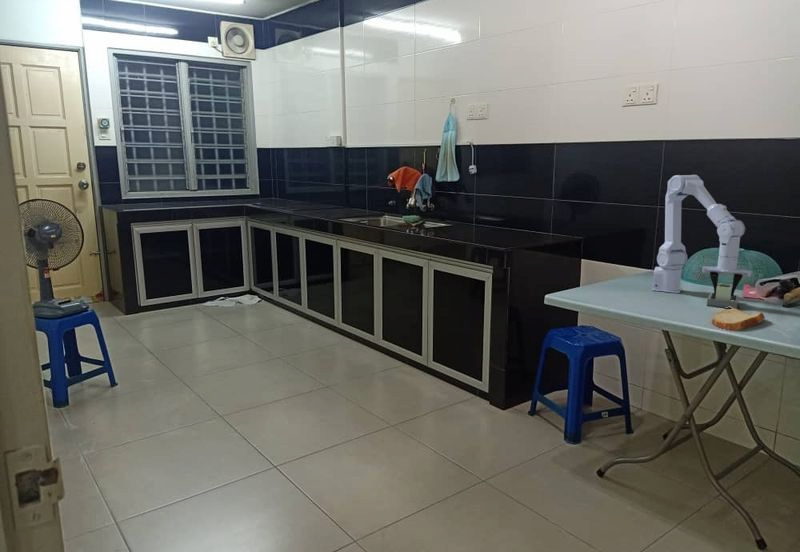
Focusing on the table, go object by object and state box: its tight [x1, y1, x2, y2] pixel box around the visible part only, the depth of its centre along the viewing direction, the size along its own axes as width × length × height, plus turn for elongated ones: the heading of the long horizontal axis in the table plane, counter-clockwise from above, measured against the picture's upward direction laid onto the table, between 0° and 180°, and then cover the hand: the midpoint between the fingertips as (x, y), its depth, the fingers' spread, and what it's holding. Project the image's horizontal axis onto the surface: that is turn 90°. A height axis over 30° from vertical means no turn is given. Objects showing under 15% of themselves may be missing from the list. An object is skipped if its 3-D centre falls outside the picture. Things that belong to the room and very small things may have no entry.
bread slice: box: [711, 308, 766, 332], centre depth 172 cm, size 18×18×4 cm
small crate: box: [715, 282, 733, 301], centre depth 193 cm, size 4×7×5 cm, turn 146°
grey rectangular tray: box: [706, 292, 740, 309], centre depth 194 cm, size 9×11×2 cm
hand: (723, 294), depth 194 cm, fingers closed on small crate, 4 cm apart
